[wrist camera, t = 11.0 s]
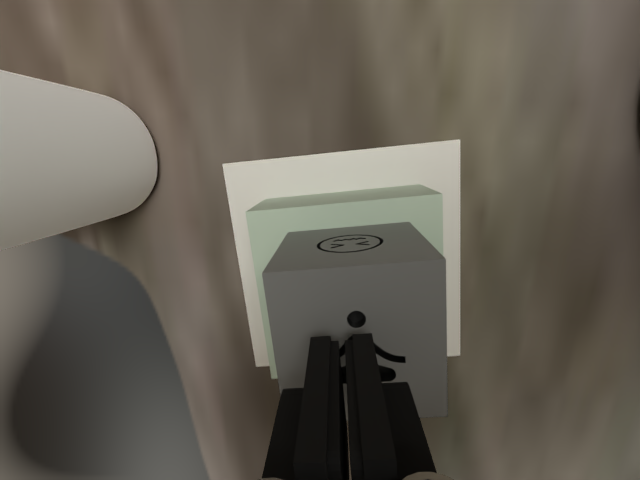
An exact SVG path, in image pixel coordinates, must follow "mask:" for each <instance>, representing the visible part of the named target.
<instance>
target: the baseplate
mask: <svg viewBox="0 0 640 480" xmlns="http://www.w3.org/2000/svg"><path fill="white" fill-rule="evenodd" d="M222 165H223V171H224V177H225V183H226V189H227V195H228V201H229V207H230V213H231V219H232V225H233V231H234V237H235V243H236V249H237V255H238V261H239V267H240V273H241V279H242V285H243V291H244V297H245V303H246V309H247V315H248V321H249V327H250V333H251V339H252V345H253V351H254V357H255V363H256V367H261V366H269V360H268V353H267V347H266V341H265V334H264V328H263V321H262V315H261V309H260V302H259V296H258V289H257V283H256V277H255V270H254V264H253V257H252V251H251V245H250V238H249V232H248V225H247V219H246V213H245V212H246V211H247V210H249V209H251V208H252V207H254V206H255V205H257V204H258V203H260V202H261V201H263V200H265V199H269V198H279V197H290V196H300V195H311V194H321V193H332V192H343V191H353V190H364V189H374V188H385V187H395V186H406V185H416V184H421V185H423V186H425V187H428V188H430V189H433V190H435V191H437V192H440V193H442V195H443V256H444V258H445V259H446V307H447V356H460V139H459V140H449V141H439V142H430V143H420V144H410V145H401V146H391V147H381V148H372V149H362V150H352V151H343V152H333V153H323V154H314V155H304V156H294V157H285V158H275V159H265V160H256V161H246V162H236V163H227V164H222Z"/></svg>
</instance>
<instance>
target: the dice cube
mask: <svg viewBox="0 0 640 480" xmlns="http://www.w3.org/2000/svg"><path fill="white" fill-rule="evenodd" d="M262 278H263V285H264V291H265V298H266V304H267V311H268V318H269V324H270V331H271V337H272V344H273V351H274V357H275V364H276V371H277V377H278V384H279V390H280V397H281V393H282V390H283V389H288V388H304V381H305V374H306V367H307V359H308V352H309V345H310V338H311V337H320V336H331V341H339V350H340V360H341V370H342V381H343V391H344V401H345V411H346V421H348V404H347V381H346V359H345V340H353V339H352V334H365V333H372V337H373V342H374V347H375V352H376V357H377V362H378V367H379V372H380V377H381V382H382V383H394V382H408V384H409V386H410V389H411V393H412V396H413V399H414V402H415V405H416V409H417V412H418V415H419V418H427V417H448V390H447V307H446V259H445V258H444V256H443V255H442V254H441V253H440V252H439V251H438V250H437V249H436V248H435V247H434V246H433V245H432V244H431V243H430V242H429V241H428V240H427V239H426V238H425V237H424V236H423V235H422V234H421V233H420V232H419V231H418V230H417V229H416V228H415V227H414V226H413V225H412V224H411V223H410V222H400V223H388V224H376V225H365V226H353V227H342V228H330V229H319V230H307V231H296V232H288V233H287V235H286V236H285V238H284V239H283V241H282V242H281V244H280V246H279V247H278V249H277V250H276V252H275V253H274V255H273V256H272V258H271V260H270V261H269V263H268V264H267V266H266V267H265V269H264V271H263V272H262Z"/></svg>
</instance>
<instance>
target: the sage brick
mask: <svg viewBox="0 0 640 480" xmlns="http://www.w3.org/2000/svg"><path fill="white" fill-rule="evenodd" d="M245 213H246V219H247V225H248V232H249V238H250V245H251V251H252V257H253V264H254V270H255V277H256V283H257V289H258V296H259V302H260V309H261V315H262V321H263V328H264V334H265V341H266V347H267V353H268V360H269V366H270V373H271V379H278V377H277V371H276V364H275V357H274V351H273V344H272V337H271V331H270V324H269V318H268V311H267V304H266V298H265V291H264V285H263V278H262V272H263V271H264V269H265V267H266V266H267V264H268V263H269V261H270V260H271V258H272V256H273V255H274V253H275V252H276V250H277V249H278V247H279V246H280V244H281V242H282V241H283V239H284V238H285V236H286V235H287V233H288V232H296V231H307V230H319V229H330V228H342V227H353V226H365V225H376V224H388V223H400V222H410V223H411V224H412V225H413V226H414V227H415V228H416V229H417V230H418V231H419V232H420V233H421V234H422V235H423V236H424V237H425V238H426V239H427V240H428V241H429V242H430V243H431V244H432V245H433V246H434V247H435V248H436V249H437V250H438V251H439V252H440V253H441V254H442V255H443V195H442V193H440V192H437V191H435V190H433V189H430V188H428V187H425V186H423V185H421V184H416V185H406V186H395V187H385V188H374V189H364V190H353V191H343V192H332V193H321V194H311V195H300V196H290V197H279V198H269V199H265V200H263V201H261V202H260V203H258V204H257V205H255V206H254V207H252V208H251V209H249V210H247V211H246V212H245Z"/></svg>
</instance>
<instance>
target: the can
mask: <svg viewBox="0 0 640 480" xmlns="http://www.w3.org/2000/svg"><path fill="white" fill-rule="evenodd" d="M156 178H157V156H156V150H155V146H154V142H153V140H152V137H151V135H150V133H149V131H148V129H147V128H146V126H145V125H144V123H143V122H142V120H141V119H140V118H139V117H138V116H137V115H136V114H135V113H134V112H133V111H132V110H131V109H130V108H128V107H127V106H126V105H124V104H123V103H121V102H119V101H117V100H115V99H113V98H111V97H108V96H105V95H101V94H98V93H94V92H90V91H86V90H82V89H78V88H74V87H70V86H66V85H62V84H57V83H53V82H49V81H45V80H41V79H37V78H32V77H28V76H24V75H20V74H16V73H12V72H7V71H3V70H0V251H2V250H6V249H9V248H13V247H16V246H19V245H23V244H26V243H29V242H33V241H36V240H40V239H43V238H46V237H50V236H53V235H57V234H60V233H63V232H67V231H70V230H74V229H77V228H80V227H84V226H87V225H90V224H94V223H97V222H100V221H104V220H107V219H110V218H113V217H117V216H120V215H123V214H125V213H128V212H130V211H132V210H134V209H135V208H137V207H138V206H140V205H141V204H142V203H143V202H144V201H145V200H146V198H147V197H148V196H149V194H150V193H151V191H152V189H153V187H154V185H155V182H156Z"/></svg>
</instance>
